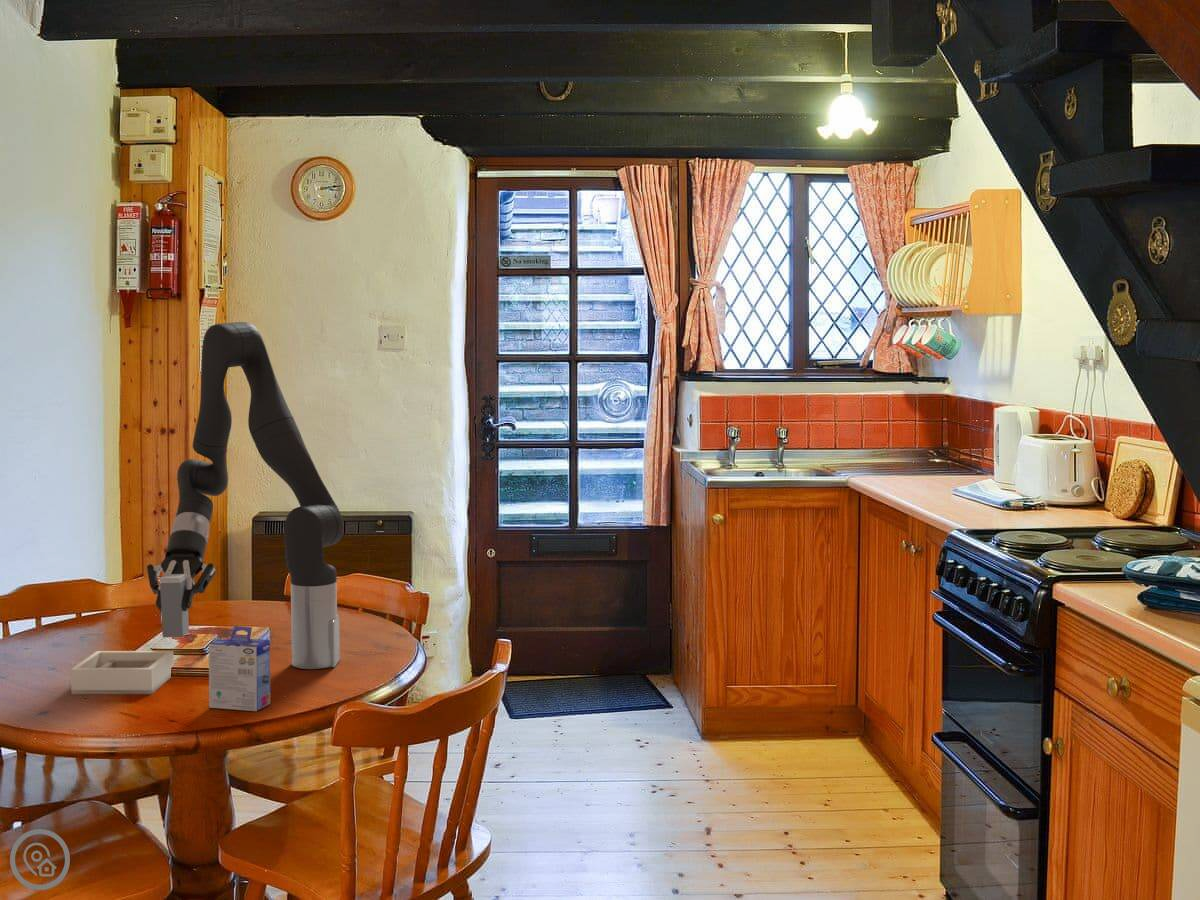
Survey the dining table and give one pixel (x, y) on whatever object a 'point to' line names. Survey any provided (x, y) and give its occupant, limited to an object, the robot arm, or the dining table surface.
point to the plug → (173, 605)
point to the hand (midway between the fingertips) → (172, 608)
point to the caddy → (122, 672)
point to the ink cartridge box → (239, 672)
